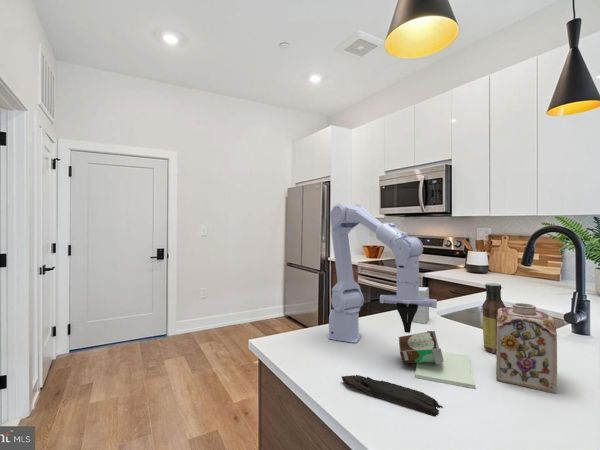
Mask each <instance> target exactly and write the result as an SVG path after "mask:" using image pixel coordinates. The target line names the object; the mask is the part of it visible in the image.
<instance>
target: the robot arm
mask: <svg viewBox="0 0 600 450" xmlns="http://www.w3.org/2000/svg"><path fill="white" fill-rule="evenodd" d="M329 216H330V217H329V218H330V225H331V231H330V232H331V237H332V238H331V239H332V247H333V254H334V263H335V270H336V271H335V272H336V279H337V280H336V281H337V282H336V283H335V285H334V286H333V287H332V288H331V294H332V295H331V299H330V300H331V307H332V309H331V310H330V312H329V316H328V338H327V339H328V340H334V341H340V342H346V343H352V344H353V343H354V344H357V343H358V342H359V340H360V339H361V337H363V334H362V333H360V331H359V330H360V329H359V325H360V323H359V316H360V315H359V312H360V311H361V308H362V306H363V305H364V302H365V301H364V300H365V299H364V298H365V297H364V295H363V293H362V291H361V286H360V284H358V282H356V281H355V278H354V270H353V269H354V268H353V262H352V255H351V247H350V239H349V234H350V232H351V231H352V230H353V229H355V228H356V227H357V226H359V224H361V225H363V226H364V227H366V228H367V229H369V230H371V231H372V232H374V233H375V236H376V239H377V240H379V241H380V242H381V243H382V244H384V245H385V246H387V248H389V249H390V250H391V252H392V254H393V256H394V261H395V264H396V294H380V296H379V303H380V304H384V303H385V304H394V305H395V304H396V310H397V313H398V314H399V317H400V319H401V322H402V325H403V330H404V331H403V332H404V333H406V334H410V333H411V332H412V331H411V330H412V329H411V328H412V323H413V322H412V321H413V318H414V316H415V314H416V312H417V309H418V306H423V307H429V308H431V309H437V307H438V306H437V301H438V300H437V299H435V298H429V299H428V298H422V297H419V287H420V279H419V278H420V275H419V274H420V272H419V271H420V259H419V258H420V257H421V255H423V252H424V244H423V242H422V241H421V239H419V237H417V236H409V235H408V232H406V231H402V230H400V229H399V228H397V227H396V224H395V223H394V222H384V223H382V221H380V220H379V219H378V218H376V217H375V216H374V215H372V214H371V213H369V212H368V211H367V210H366V208H365V207H363V206H361V205H359V204H355V205H354V204H341V203H337V204H335V205H334V206H333V207H332V209H331V211H330V212H329ZM407 313H408V320H407Z"/></svg>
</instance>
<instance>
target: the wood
mask: <svg viewBox="0 0 600 450" xmlns="http://www.w3.org/2000/svg"><path fill="white" fill-rule="evenodd" d="M341 379H342V382H343V383H344V384H345V385H346V384H348V385H350V386H352V387H355V388H357V389H359V390H361V391H362V392H364V393H366V394H367V395H369V396H371V397H374V398H379V399H382V400H383V399H384V400H386V401H390V402H391V403H395V404H397V405H400V406H403V407H405V408H409V409H413V410H415V411H419V412H422V413H424V414H427V415H430V416H433V417H437V416H439V415H440V413H439V412H440V410H439V409H441V408H442V409H443V408H444V406H443V405H440V404H439V403H438V401H437V400H436V399H435V398H433V397H431V396H430V395H428V394H425V393H424V392H422V391H419V390H417V389H412V388H410V387H406V386H403V385H400V384H397V383H392V382H390V381H389V382H388V381H385V380H377V379H373V378H372V377H369V376H366V377H365V376H362V375H360V374H359V375H358V374H355V375H354V374H353V375H344V376H343V375H342V376H341ZM436 407H437V408H436ZM440 407H441V408H440ZM436 415H437V416H436Z"/></svg>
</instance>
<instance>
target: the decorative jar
mask: <svg viewBox="0 0 600 450" xmlns="http://www.w3.org/2000/svg"><path fill="white" fill-rule="evenodd" d="M496 320H497V324H496V325H497V334H496V335H497V338H496V354H495V355H496V361H495V362H496V367H495V368H496V369H495V378H496V380H497V381H498V382H504V383H507V384H511V385H512V384H513V385H517V386H521V387H525V388H529V389H534V390H539V391H542V392H543V391H544V392H547V393H553V394H557V392H558V391H557V389H558V341H557V340H558V334H557V327H556V326H555V324H556V323H555V319H554V317H553V316H552V315H551V314H549V313H546V312H544V311H541V310H537V307H536V305H534V304H531V303H527V302H526V303H523V302H514V303H512V307H506V308H500V309H498V310H497V319H496Z"/></svg>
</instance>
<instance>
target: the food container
mask: <svg viewBox="0 0 600 450" xmlns="http://www.w3.org/2000/svg"><path fill="white" fill-rule="evenodd" d="M398 347H399V349H398V350H399V354H400V359H401V362H402V364H417V363H432V362H435V364H436V365H437V364H440V363H441V362H444V361H443V356H442V352H443V351H442V349H441V348H440V346H439V342H438V338H437V335H436V331H435V330H427V331H425V332H418V333H413V334H408V335H403V336H398ZM441 351H442V352H441Z"/></svg>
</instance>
